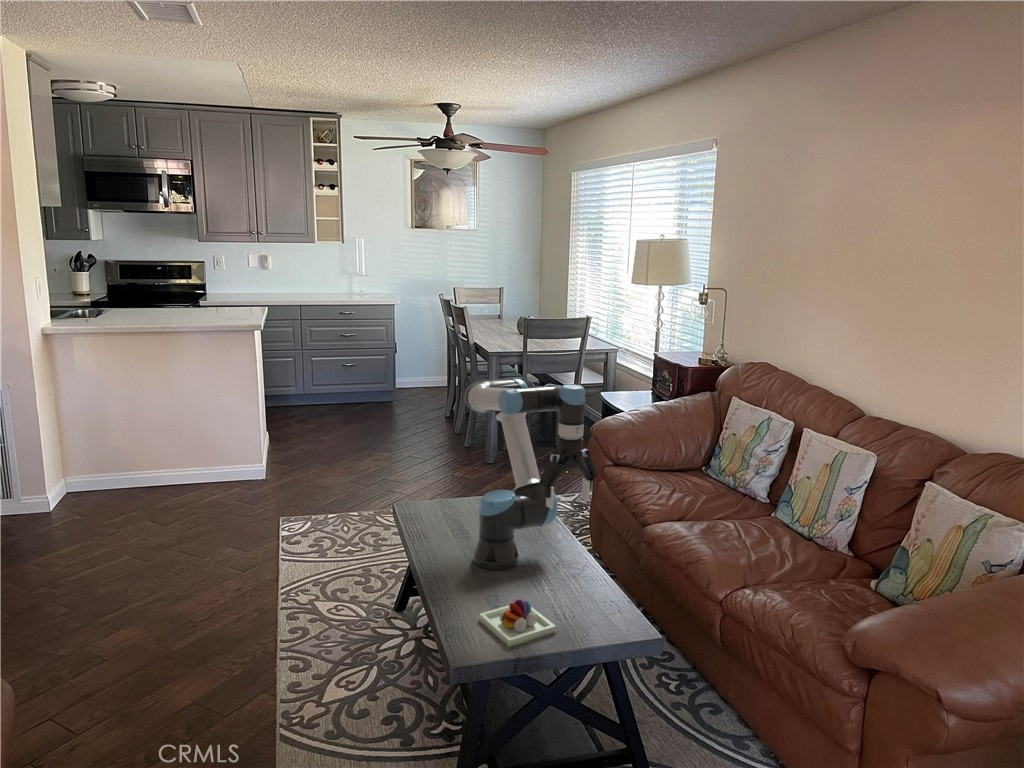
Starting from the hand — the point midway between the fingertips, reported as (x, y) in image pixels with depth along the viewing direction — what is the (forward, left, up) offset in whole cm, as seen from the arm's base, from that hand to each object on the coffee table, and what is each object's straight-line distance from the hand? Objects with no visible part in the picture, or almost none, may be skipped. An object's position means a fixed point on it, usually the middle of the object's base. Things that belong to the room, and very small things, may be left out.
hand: (567, 503), depth 222 cm
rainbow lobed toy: (+14, -26, -26) cm, 40 cm away
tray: (+14, -27, -27) cm, 40 cm away
